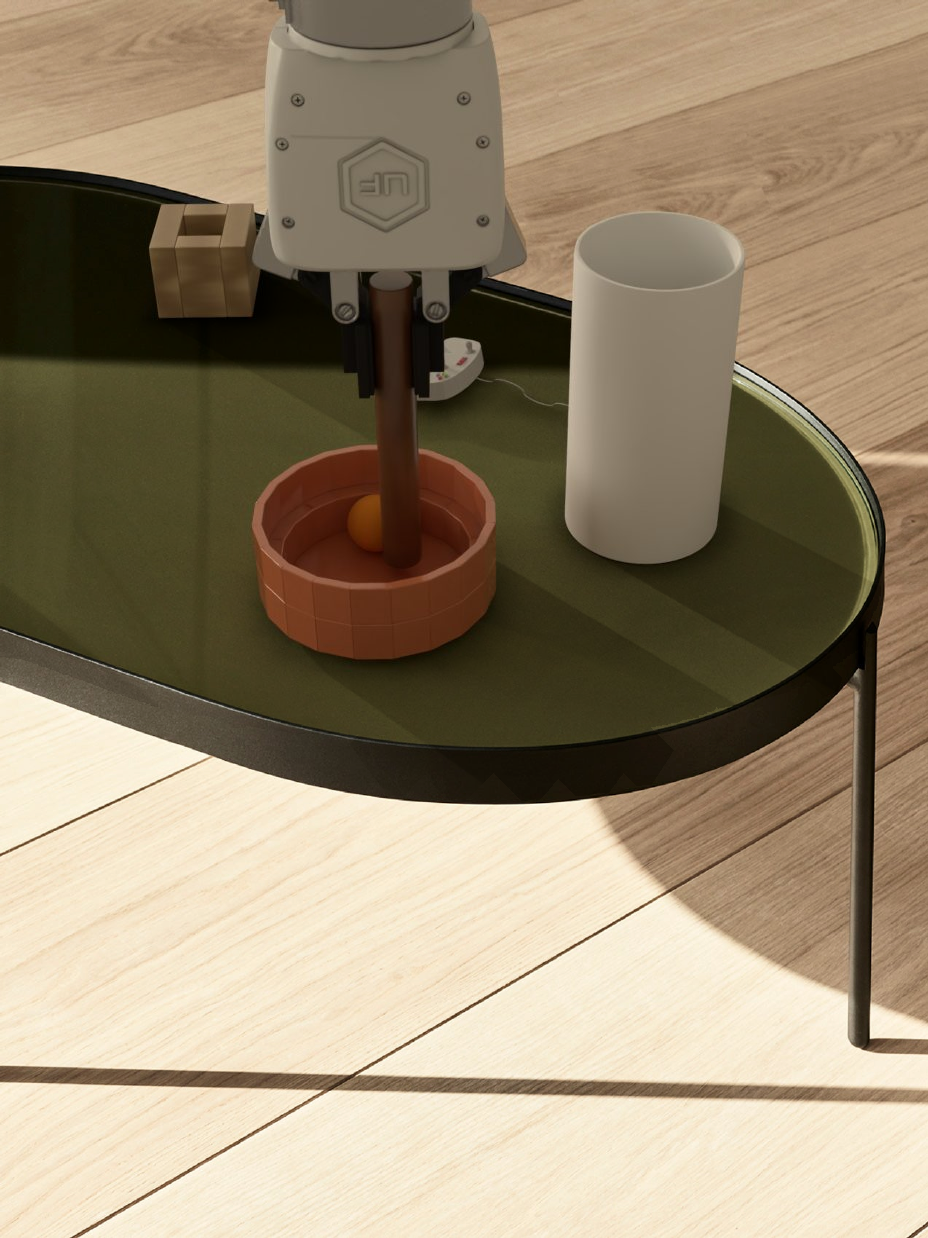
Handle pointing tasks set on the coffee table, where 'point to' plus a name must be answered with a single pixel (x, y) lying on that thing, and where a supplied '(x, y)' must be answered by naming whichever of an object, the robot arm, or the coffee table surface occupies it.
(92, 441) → the coffee table surface
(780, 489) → the coffee table surface
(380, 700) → the coffee table surface
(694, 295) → the cup
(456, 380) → the game controller
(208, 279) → the holder
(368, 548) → the ball
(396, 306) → the stick
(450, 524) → the bowl
